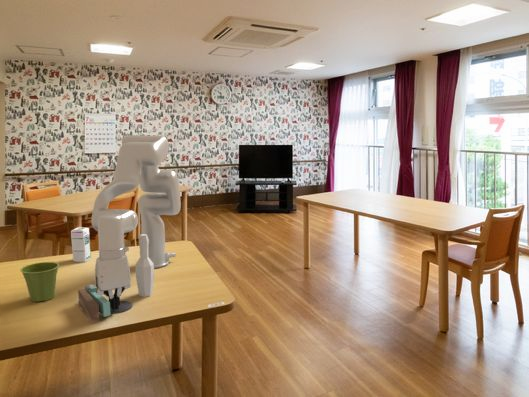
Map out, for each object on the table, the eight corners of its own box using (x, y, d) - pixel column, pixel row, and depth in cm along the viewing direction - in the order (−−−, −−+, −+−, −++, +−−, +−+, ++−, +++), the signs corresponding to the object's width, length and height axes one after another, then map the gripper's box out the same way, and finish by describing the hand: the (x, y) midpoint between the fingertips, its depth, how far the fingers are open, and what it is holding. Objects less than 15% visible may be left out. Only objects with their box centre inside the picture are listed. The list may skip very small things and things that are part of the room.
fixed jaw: (92, 299, 141) (91, 283, 140) (109, 319, 127) (108, 300, 126) (77, 303, 138) (76, 286, 137) (92, 323, 124) (91, 304, 123)
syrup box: (85, 262, 181) (83, 230, 178) (72, 261, 181) (70, 230, 179) (91, 258, 187) (89, 227, 184) (78, 257, 187) (76, 227, 184)
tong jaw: (95, 301, 137) (94, 285, 137) (110, 315, 127) (109, 298, 126) (89, 302, 136) (88, 286, 135) (103, 316, 126) (103, 300, 125)
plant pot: (66, 290, 149) (64, 261, 147) (53, 304, 137) (51, 272, 135) (32, 291, 148) (29, 261, 146) (16, 305, 136) (13, 273, 134)
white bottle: (155, 290, 150) (153, 232, 147) (153, 297, 144) (151, 236, 140) (137, 291, 149) (135, 232, 146) (135, 298, 143) (132, 237, 139)
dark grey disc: (126, 299, 142) (126, 298, 142) (136, 308, 135) (136, 307, 135) (100, 305, 136) (99, 304, 136) (108, 315, 129) (108, 314, 129)
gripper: (130, 246, 136) (132, 299, 139) (83, 254, 127) (86, 310, 129) (139, 251, 130) (141, 306, 133) (90, 260, 121) (94, 318, 124)
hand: (114, 308), depth 131 cm, fingers closed
